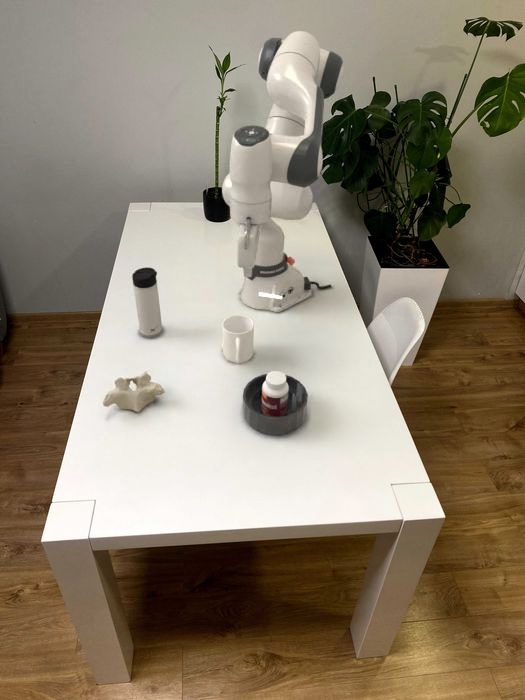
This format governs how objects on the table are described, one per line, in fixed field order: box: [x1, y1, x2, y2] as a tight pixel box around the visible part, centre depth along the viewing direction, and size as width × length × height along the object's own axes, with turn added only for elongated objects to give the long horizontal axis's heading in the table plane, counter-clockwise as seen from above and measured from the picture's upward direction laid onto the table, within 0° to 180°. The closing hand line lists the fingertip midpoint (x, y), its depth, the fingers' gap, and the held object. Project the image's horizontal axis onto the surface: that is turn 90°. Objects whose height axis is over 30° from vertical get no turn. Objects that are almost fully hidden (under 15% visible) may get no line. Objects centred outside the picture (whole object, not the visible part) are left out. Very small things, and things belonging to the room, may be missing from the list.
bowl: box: [242, 373, 309, 436], centre depth 130 cm, size 15×15×6 cm
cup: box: [221, 314, 255, 365], centre depth 144 cm, size 8×12×10 cm
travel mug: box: [131, 267, 163, 339], centre depth 149 cm, size 6×7×20 cm
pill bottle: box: [261, 370, 289, 417], centre depth 128 cm, size 6×6×11 cm
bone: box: [102, 370, 166, 413], centre depth 131 cm, size 9×14×8 cm, turn 125°
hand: (250, 264), depth 125 cm, fingers open, 8 cm apart
